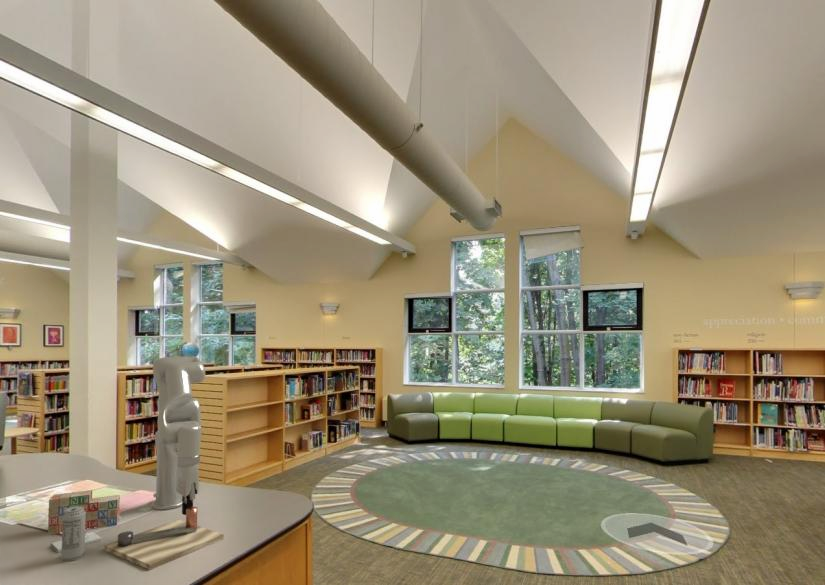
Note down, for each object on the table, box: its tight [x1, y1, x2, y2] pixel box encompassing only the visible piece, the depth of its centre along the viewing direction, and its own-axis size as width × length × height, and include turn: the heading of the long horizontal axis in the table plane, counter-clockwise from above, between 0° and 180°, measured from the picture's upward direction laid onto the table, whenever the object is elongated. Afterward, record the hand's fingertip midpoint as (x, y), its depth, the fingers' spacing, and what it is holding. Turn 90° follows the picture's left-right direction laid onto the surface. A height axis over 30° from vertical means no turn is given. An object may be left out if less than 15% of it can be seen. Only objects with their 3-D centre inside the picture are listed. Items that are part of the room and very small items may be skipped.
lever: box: [117, 506, 198, 546], centre depth 171 cm, size 24×4×8 cm, turn 120°
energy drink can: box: [61, 506, 86, 562], centre depth 160 cm, size 6×6×15 cm
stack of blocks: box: [47, 489, 121, 535], centre depth 185 cm, size 21×6×12 cm, turn 112°
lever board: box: [103, 519, 225, 571], centre depth 169 cm, size 26×26×2 cm
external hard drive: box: [50, 531, 102, 554], centre depth 171 cm, size 2×8×12 cm
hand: (187, 513), depth 179 cm, fingers closed
